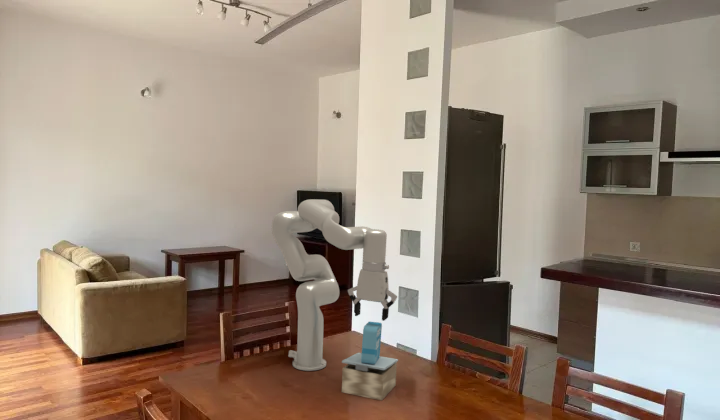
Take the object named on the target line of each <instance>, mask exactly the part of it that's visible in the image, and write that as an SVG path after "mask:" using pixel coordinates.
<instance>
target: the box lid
mask: <svg viewBox="0 0 720 420" xmlns="http://www.w3.org/2000/svg"><path fill="white" fill-rule="evenodd" d="M361 354H362V352H357V353H355V354H352V355H351V356H349V357H346V358H345V359H342V360H341V364H346V365H347V364H352V365H356V368H355V369H356V370H362V371H368V368H374V369H379V370H386V369H387V368H389V367H390V366H392V365H393V364H395V363H396V362H399V359H397V358H393V357H386V356H379V358H378V360H377V362H376V363H375V364H368V363H362V362H361Z"/></svg>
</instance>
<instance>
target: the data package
mask: <svg viewBox="0 0 720 420" xmlns="http://www.w3.org/2000/svg"><path fill="white" fill-rule="evenodd" d="M382 327H383V325H382V322H377V321H376V322H375V321H368V322H367V323H366V324H365V325H364V326H363V329H362V340H361V341H362V343H361V353H362V354H361V362H362V363H368V364H375V363H376V362H377V360H378V358H379V356H380V353H381V344H382Z"/></svg>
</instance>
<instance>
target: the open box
mask: <svg viewBox="0 0 720 420" xmlns="http://www.w3.org/2000/svg"><path fill="white" fill-rule="evenodd" d="M397 362H398V361H397ZM397 362H396V363H395V364H393V365H392V366H390V367H389V368H387V369H386V370H379V369H374V368H368V371H362V370H356V369H355V368H356V365H352V364H346V365H345V366H344V367H342V372H341V374H342V376H341V382H342V383H341V393H345V394H350V395H353V396H358V397H363V398H368V399H373V400H377V401H378V400H379V401H383V399H385V397H387V396H388V394H389V393H390V392H391V391H392V390H393V389H394V388H395V386H396V384H397Z"/></svg>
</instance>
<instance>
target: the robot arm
mask: <svg viewBox="0 0 720 420" xmlns="http://www.w3.org/2000/svg"><path fill="white" fill-rule="evenodd" d="M339 215H340V214H338V212H336V211H335V207H334V205H333V204H332V202H331V201H329V200H328V199H317V198H316V199H315V198H314V199H311V198H310V199H306V200H303V201H301V202H300V203H299V204H298V207H297V210H286V211H281V212H278V213H277V214H276V215H275V216H273V219H272V222H271V234H272V237H273V239H274V241H275V243H276V244H277V246H278V248H279V250H280V251H281V254H282V256H283V259H284V261H285V263H286V266H287V268H288V270H289V273H290V275H291V277H292V278H293V279H294V280H295V281H296V282H297V281H298V282H303V283H301V284H299V286H298V287H297V288H296V292H295V300H296V305H297V341H296V342H297V344H296V345H297V347H296V349H297V350H291V349H290V350H288V355H287V356H288V358H293V360H292V367H293V368H295V369H297V370H299V371H304V372H305V371H306V372H310V371H319V370H322V369H324V368H325V367H326V366H327V360H326V359H324V358H323V354H324V353H323V349H324V348H323V347H324V322H325V321H324V314H323V312H322V310H321V308H320V307H321V306H325V305H329V304H332V303H335V302H336V301H337V300H338V299H339V297H340V287H339V283H338V282H337V280H336V277H335V275H334V273H333V271H332V268H331V266H330V264H329V262H328V260H327V259H326V258H325V257H324V256H323V255H321V254H316V253H315V254H308V253H307V252H306V250H305V247H304V245H303V243H302V242H301V241H300V239H299V238H298V237H296V236H295V235H294V233H295V234H296V233H308V232H312V231H314V230H317V229H318V230H319V231H321V232H322V235H323V238H324V239H325V241H326V242H328V243H329V244H331V245H333V246H335V247H336V248H338V249H339V250H340V249H341V250H345V251H348V250H350V251H351V250H360V249H363V250H362V263H361V265H362V268H361V269H360V270H359V273H358V278H357V285H356V286H353V287H351V288H349V289H347V293H348V295H349V298H350V300H351V301H352V303H353V305H354V306H353V307H354V308H353V313H354V316H355V317H359V316H360V315H361V305H362V304H361V301H362V300H363V301H368V302H375V303H380V304H381V305H382V306H383V308H382V312H381V314H382V315H381V321H386V320H387V319H388V318H389V311H390V307H392V305H394V303H395V302H396V300H397V299H398V295H396V294H395V293H394V292H392V291H391V290H390V289H389V275H388V271H386V270H389V269H390V266H389V264H387V262H386V256H387V255H386V253H387V232H386V231H385V230H383V229H375V228H374V229H373V228H370V227H368V226H347V227H346V226H343V225H340V224H339V223H340V216H339ZM354 292H356V294H355V293H354ZM389 297H390V298H391V299H390V300H389V301H388V299H389Z"/></svg>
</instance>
